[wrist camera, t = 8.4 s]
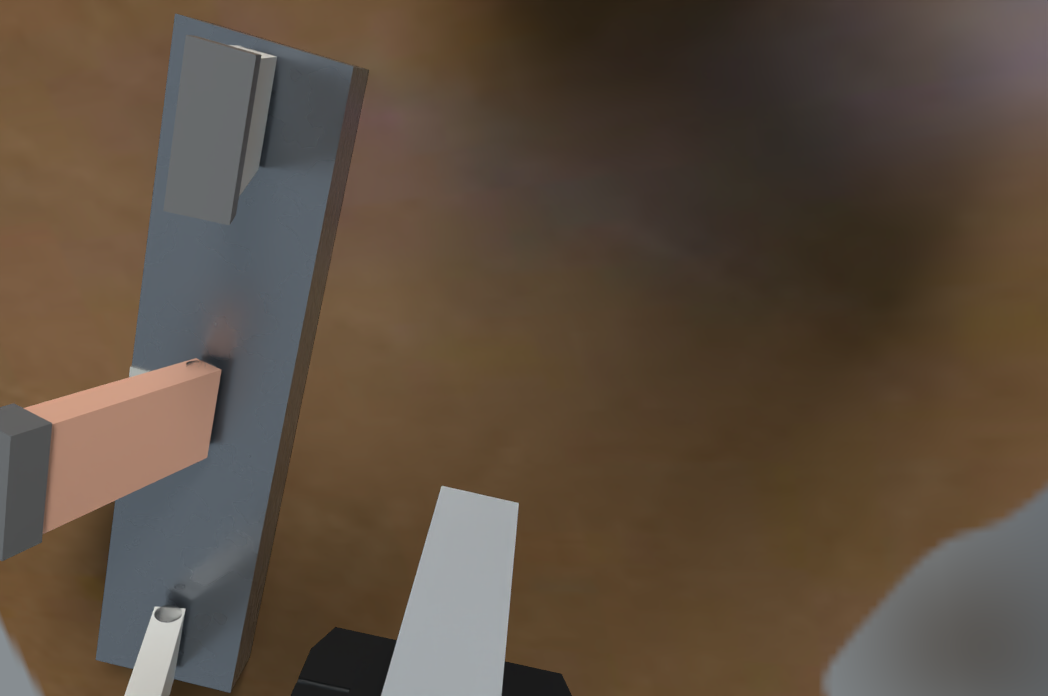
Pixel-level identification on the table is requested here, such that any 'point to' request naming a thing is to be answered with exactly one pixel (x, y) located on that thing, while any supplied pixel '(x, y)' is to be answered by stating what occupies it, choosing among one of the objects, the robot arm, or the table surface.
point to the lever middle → (99, 447)
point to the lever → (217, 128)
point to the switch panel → (231, 364)
